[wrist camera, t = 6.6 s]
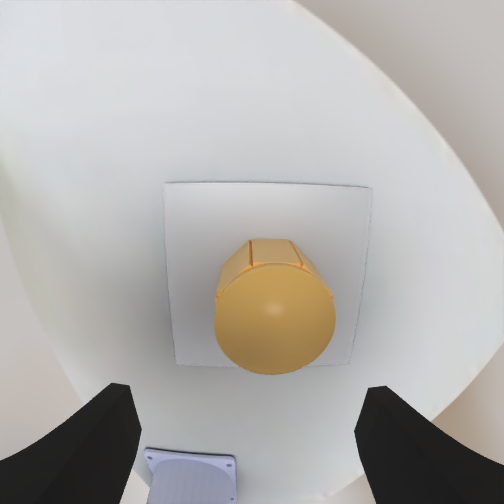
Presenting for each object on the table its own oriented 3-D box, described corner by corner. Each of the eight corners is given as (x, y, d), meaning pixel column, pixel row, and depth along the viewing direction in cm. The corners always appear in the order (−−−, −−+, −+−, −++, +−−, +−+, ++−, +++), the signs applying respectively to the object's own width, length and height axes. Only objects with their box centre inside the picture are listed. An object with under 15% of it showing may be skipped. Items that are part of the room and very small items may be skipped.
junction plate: (345, 356, 19) (363, 394, 15) (178, 357, 19) (166, 397, 15) (367, 187, 16) (399, 195, 12) (166, 182, 16) (143, 188, 12)
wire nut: (309, 323, 18) (327, 372, 13) (223, 323, 17) (216, 374, 13) (317, 239, 16) (342, 268, 12) (221, 238, 16) (211, 267, 12)
